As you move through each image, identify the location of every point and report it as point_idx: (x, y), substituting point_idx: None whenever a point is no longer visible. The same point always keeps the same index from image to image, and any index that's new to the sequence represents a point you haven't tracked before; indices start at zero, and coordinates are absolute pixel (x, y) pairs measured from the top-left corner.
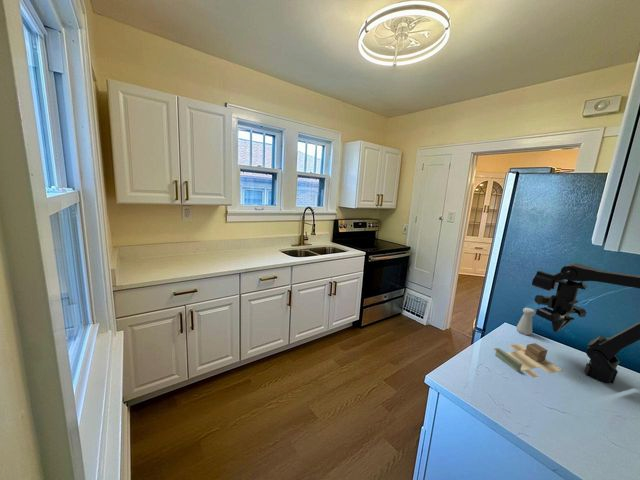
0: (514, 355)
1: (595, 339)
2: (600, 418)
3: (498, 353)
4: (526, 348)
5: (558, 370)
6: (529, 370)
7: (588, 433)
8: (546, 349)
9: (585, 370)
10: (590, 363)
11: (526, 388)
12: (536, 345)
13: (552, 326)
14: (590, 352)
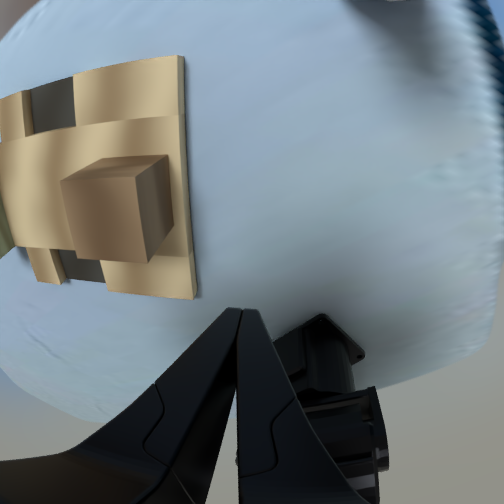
0: (45, 159)
1: (357, 485)
2: (127, 394)
3: None
4: (78, 172)
5: (168, 294)
6: (43, 255)
7: (70, 387)
8: (147, 256)
9: (291, 342)
10: (295, 383)
11: (13, 287)
12: (114, 204)
13: (191, 345)
14: (237, 456)
